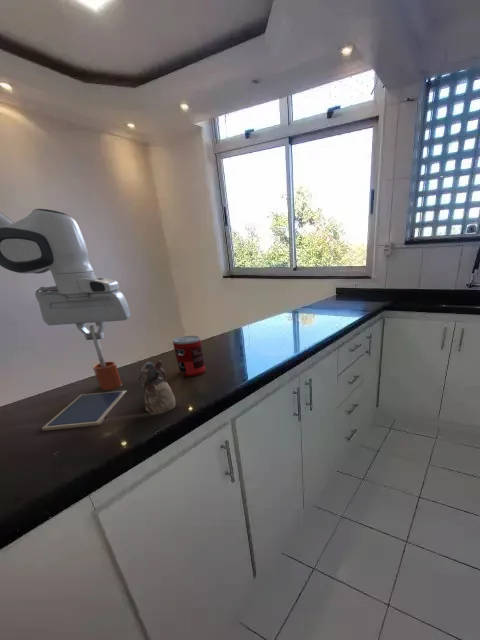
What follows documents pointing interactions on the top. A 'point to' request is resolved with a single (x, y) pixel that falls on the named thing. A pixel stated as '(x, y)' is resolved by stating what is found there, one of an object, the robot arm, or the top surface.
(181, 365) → the canned food
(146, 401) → the figurine
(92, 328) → the stylus
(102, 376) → the pen cup
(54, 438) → the top surface
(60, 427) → the tablet
